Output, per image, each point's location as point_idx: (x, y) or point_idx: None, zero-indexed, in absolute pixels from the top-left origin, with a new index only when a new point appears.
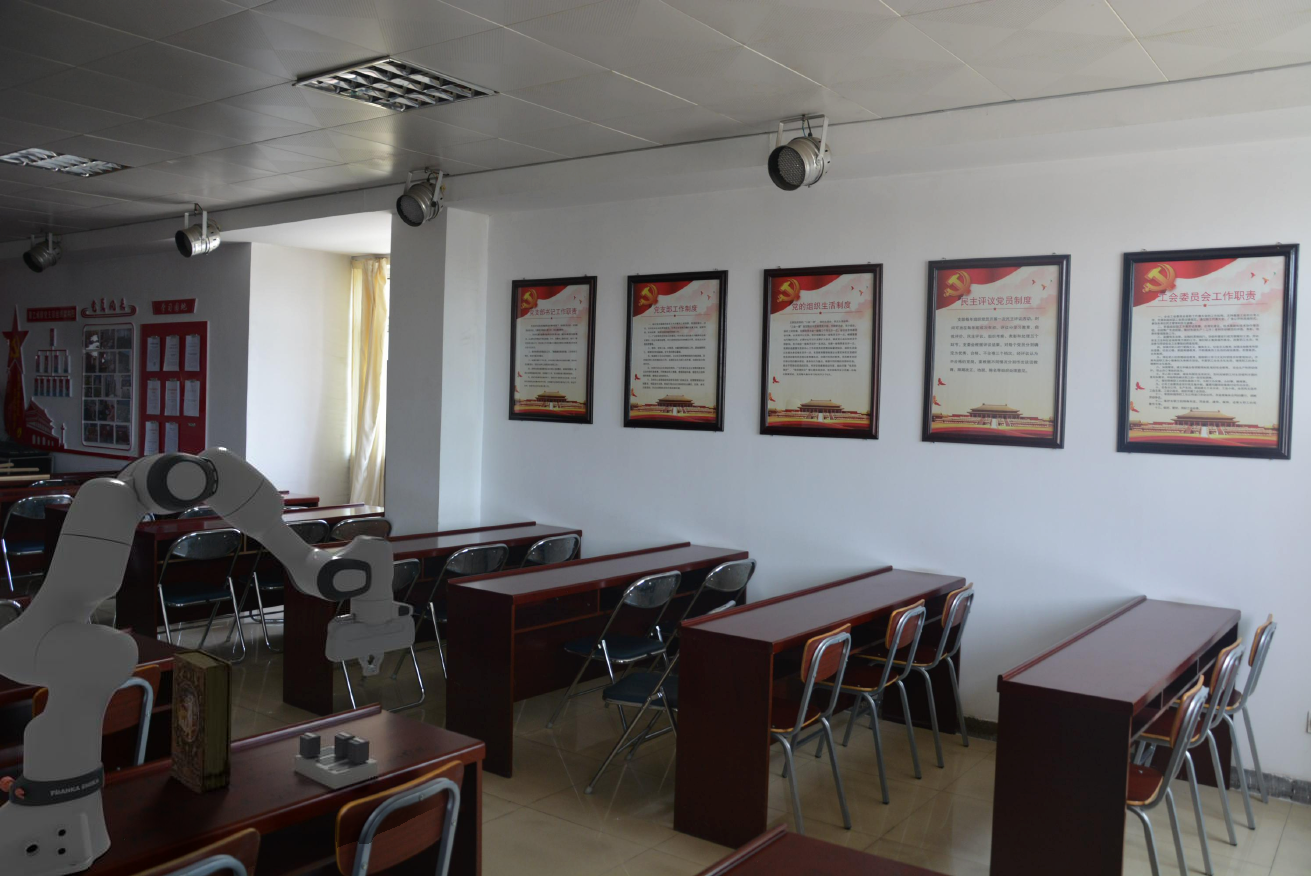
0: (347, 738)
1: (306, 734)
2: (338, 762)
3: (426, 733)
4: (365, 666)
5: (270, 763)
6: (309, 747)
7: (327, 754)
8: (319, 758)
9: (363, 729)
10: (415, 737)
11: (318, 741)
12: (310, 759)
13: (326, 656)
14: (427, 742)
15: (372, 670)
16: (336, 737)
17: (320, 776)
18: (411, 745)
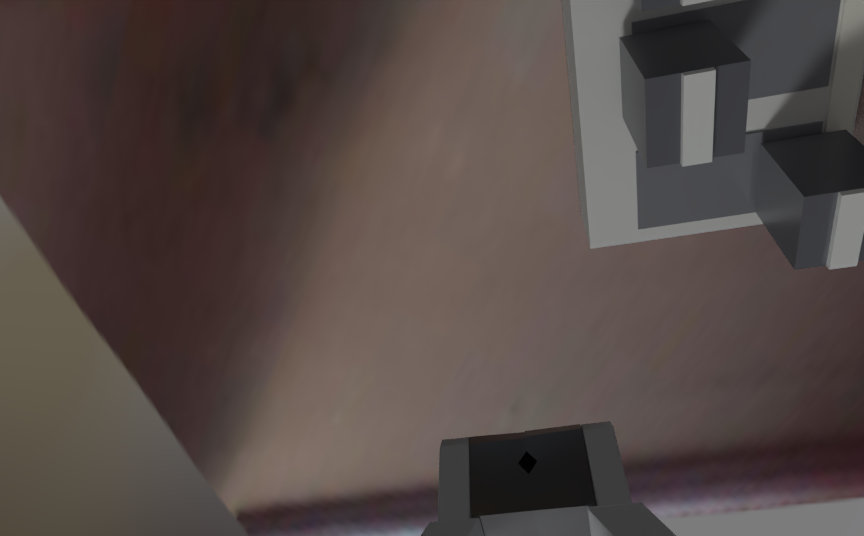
0: (706, 66)
1: (858, 247)
2: None
3: (118, 270)
4: (662, 532)
5: (818, 298)
6: (860, 156)
7: None
8: (778, 112)
9: (346, 421)
10: (177, 253)
11: (805, 177)
12: (827, 119)
13: None
14: (137, 168)
15: (540, 467)
16: (742, 128)
17: None
18: (221, 173)
